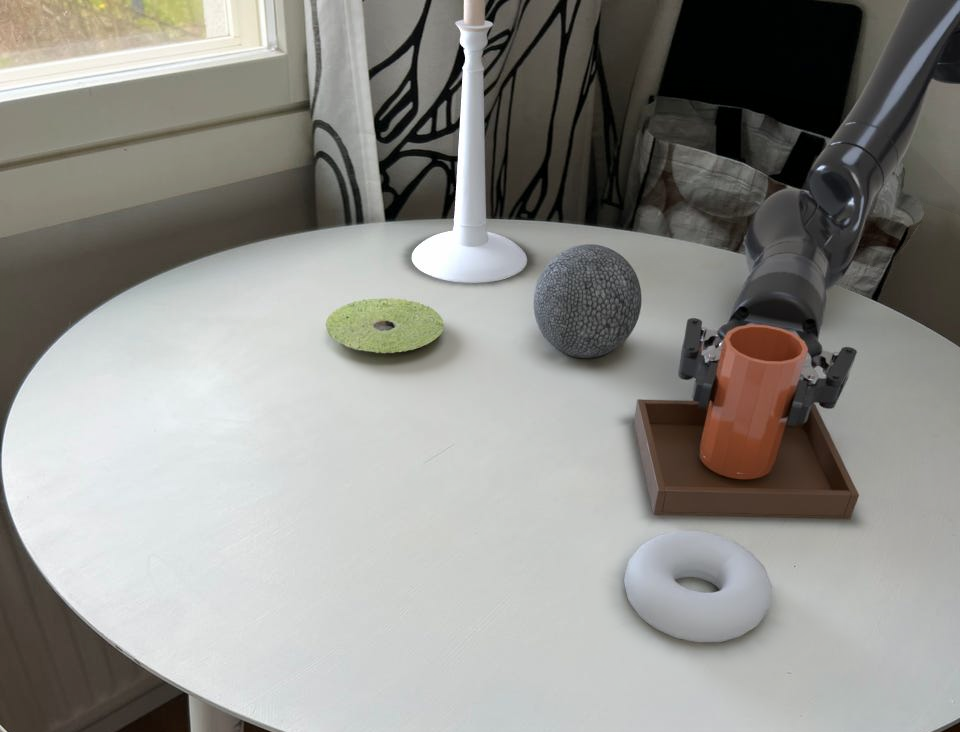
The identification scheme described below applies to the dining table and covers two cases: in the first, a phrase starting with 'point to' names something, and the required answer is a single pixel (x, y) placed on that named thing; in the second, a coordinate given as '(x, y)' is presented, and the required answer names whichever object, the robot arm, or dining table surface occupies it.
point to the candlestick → (471, 182)
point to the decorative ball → (587, 301)
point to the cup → (751, 400)
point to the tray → (702, 492)
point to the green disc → (384, 325)
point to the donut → (692, 610)
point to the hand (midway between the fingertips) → (748, 407)
